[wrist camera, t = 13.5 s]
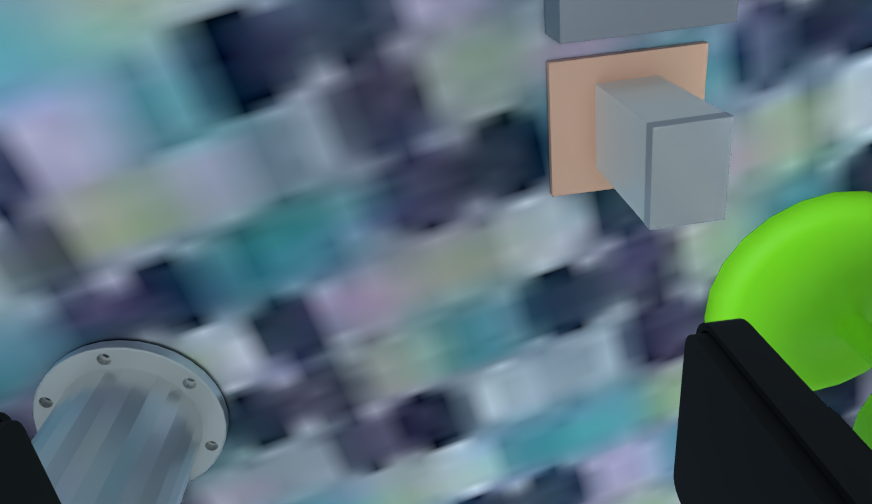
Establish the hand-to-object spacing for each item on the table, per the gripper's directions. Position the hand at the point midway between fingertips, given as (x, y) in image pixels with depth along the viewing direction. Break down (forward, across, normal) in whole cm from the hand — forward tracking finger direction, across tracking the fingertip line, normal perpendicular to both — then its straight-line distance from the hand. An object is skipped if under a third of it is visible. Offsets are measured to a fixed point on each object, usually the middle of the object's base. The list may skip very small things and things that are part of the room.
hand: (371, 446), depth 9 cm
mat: (+30, -14, +5) cm, 33 cm away
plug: (+29, -14, +5) cm, 33 cm away
